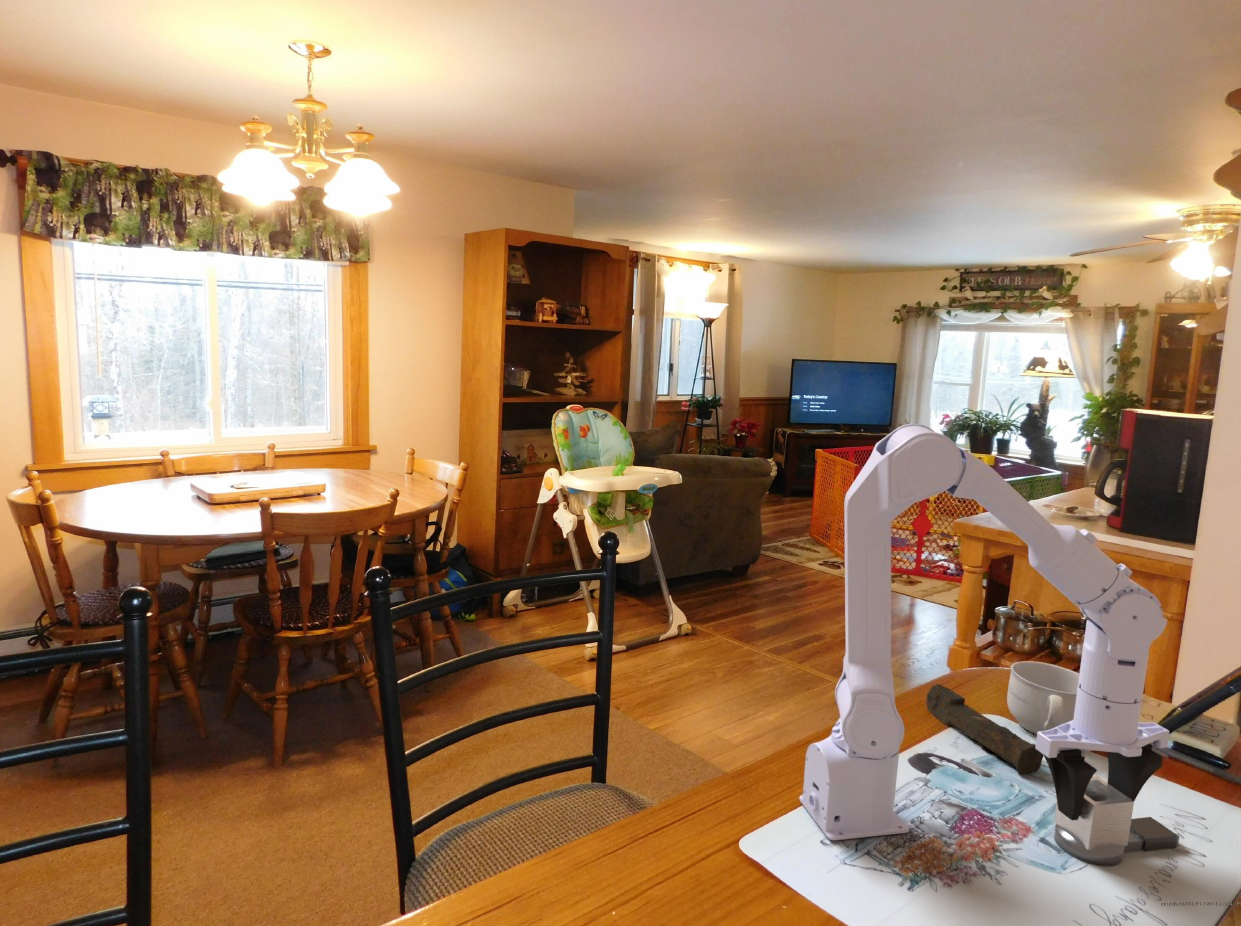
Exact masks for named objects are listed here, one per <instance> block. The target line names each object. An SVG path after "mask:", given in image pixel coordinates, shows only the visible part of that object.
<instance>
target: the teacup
mask: <svg viewBox="0 0 1241 926" xmlns="http://www.w3.org/2000/svg"><path fill="white" fill-rule="evenodd" d="M1079 674H1080V672H1077V671H1074V670H1071V669H1069V668H1065V667H1062V666H1059V665H1055V664H1052V663H1046V662H1042V661H1041V662H1040V661H1032V660H1031V661H1028V660H1024V661H1023V660H1022V661H1017V662H1016V661H1015V662H1014V663H1012V664H1011V666H1010V674H1009V675H1010V676H1009V681H1008V689H1007V695H1006V701H1007V708H1008V710H1009V712H1010V713H1011V715H1012V716H1013V717H1014V718H1015V720H1016V721H1017V722H1018V724H1019V725H1020V726H1022V728H1024V729H1025V730H1028V731H1029V732H1031V733H1032V734H1035V735H1037V732H1039V731H1046V730H1050V729H1052V728H1055V727H1057V726H1060V725H1062V724H1065V723H1067V722H1069V721H1072V720H1073V719H1074V711H1075V704H1076V696H1077V688H1078V682H1079Z"/></svg>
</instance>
